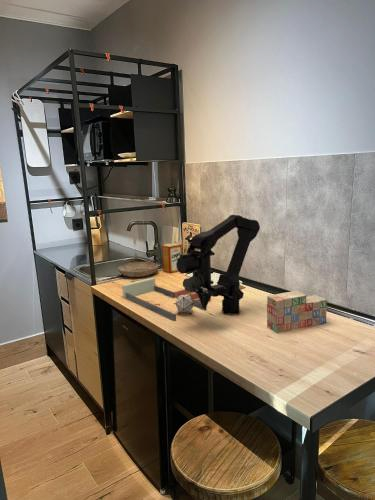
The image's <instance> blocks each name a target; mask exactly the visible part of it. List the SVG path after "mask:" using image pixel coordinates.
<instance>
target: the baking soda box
mask: <svg viewBox="0 0 375 500" xmlns="http://www.w3.org/2000/svg"><path fill="white" fill-rule="evenodd" d="M161 249H162V250H161V252H162V269H163V270H162V271H163V273H166V274H171V275H172V274H175V273H180V272H179V271H178V269H177V266H176V263H177V260H178V259H179V258H180V254H183V244H181V243H178V242H177V243H176V242H174V243H167V244H163V245H161Z"/></svg>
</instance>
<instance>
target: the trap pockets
mask: <svg viewBox="0 0 375 500" xmlns="http://www.w3.org/2000/svg"><path fill="white" fill-rule="evenodd" d="M173 292H174V293H175V298H174V299H176V300H177V299H178V297H179V295H178V293H179V294H180V295H190V294H191V295H190V296H191V298H192V301H193V300H196V301H199V302H200V299H199V297H198V295H197V294H196V293H195V292H192V293H191V292H189V291H186V290H185V288H183V289H180V290H176V291H173ZM211 298H212V297H211ZM211 298H210V300H209V302H211V300H212V299H211Z"/></svg>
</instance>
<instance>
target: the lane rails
mask: <svg viewBox="0 0 375 500" xmlns="http://www.w3.org/2000/svg"><path fill="white" fill-rule="evenodd" d="M153 292H156V293H159V294H161V295H163V296H168V297H170V298H172V299H176V298H175V293H174V292H175V291H171V290H168V289H166V288H163V287H160V286H158V285H156V284H155V286H154V291H153ZM125 295H126V298H125V299H126V300H129V302H132V303H134V304H137V305H139V306H142V307H143V308H145V309H148V310H150V311H151V312H153V313H156V314H158V315H160V316H163V317H165V318H167V319H169V320H171V321H174V322H177V314H176V313H173V312H171V311H169V310H167V309H165V308H162V307H160V306H158V305H155V304H153V303H151V302H148V301H146V300H144V299H142V298H139V297H137V296H133V295H130V294H128V293H125ZM193 303H195V304H194V305H193V307H195V308H198V309H200V310H203V311H207V310H208V306H207V307H206V308H203V307H202V305H201V302H199V301H196V300H193Z"/></svg>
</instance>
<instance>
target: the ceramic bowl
mask: <svg viewBox="0 0 375 500" xmlns="http://www.w3.org/2000/svg"><path fill="white" fill-rule="evenodd" d="M159 268H160V266H159V264H158V263H156V262H152V261H151V262H150V261H136V262H135V261H134V262H128V263H124V264H121V265H120V266H118V267H117V271H118V272H119V273H120V275H123V276H125V277H129V278H142V277H146V276H150V275H152V274H154V273H155V272H157V271H158V269H159Z"/></svg>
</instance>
